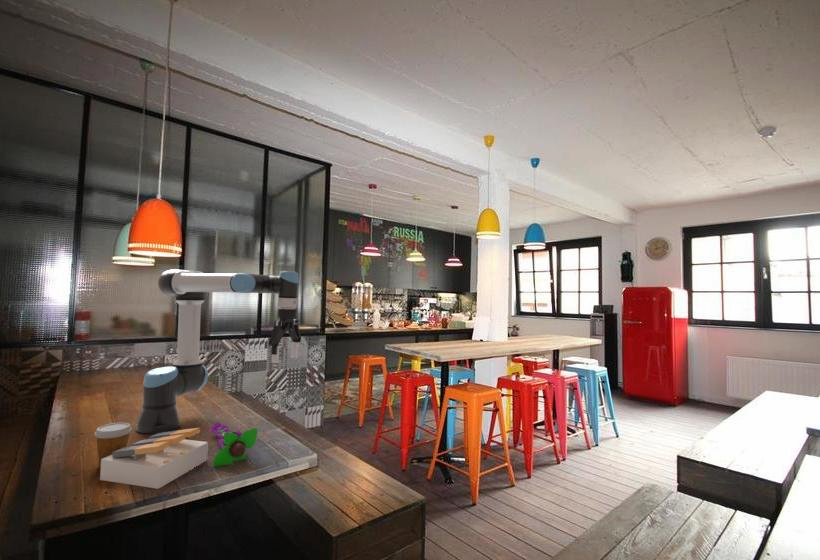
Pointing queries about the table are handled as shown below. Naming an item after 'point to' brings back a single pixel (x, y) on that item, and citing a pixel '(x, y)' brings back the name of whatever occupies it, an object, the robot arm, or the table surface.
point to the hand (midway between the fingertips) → (284, 360)
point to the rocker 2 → (177, 433)
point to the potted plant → (232, 444)
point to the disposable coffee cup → (111, 438)
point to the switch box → (155, 465)
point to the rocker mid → (161, 440)
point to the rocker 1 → (140, 449)
